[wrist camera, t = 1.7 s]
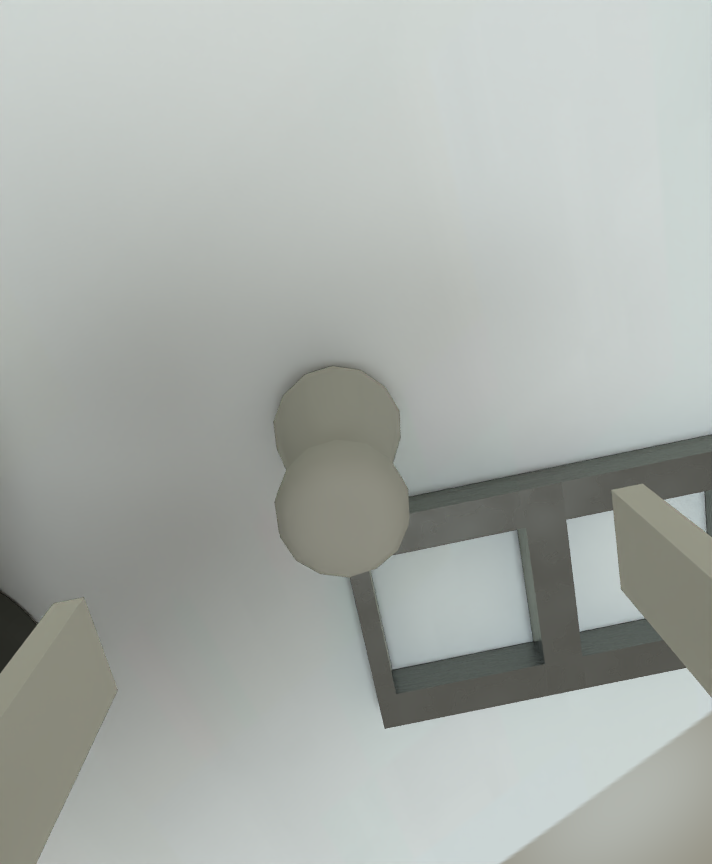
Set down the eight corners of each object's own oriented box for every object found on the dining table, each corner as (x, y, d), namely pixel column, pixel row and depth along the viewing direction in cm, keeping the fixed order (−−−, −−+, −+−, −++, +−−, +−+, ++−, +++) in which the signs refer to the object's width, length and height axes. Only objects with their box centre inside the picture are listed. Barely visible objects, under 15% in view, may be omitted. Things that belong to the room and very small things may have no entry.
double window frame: (381, 703, 37) (384, 728, 35) (337, 511, 34) (338, 528, 32) (729, 632, 37) (752, 654, 35) (721, 432, 33) (745, 444, 31)
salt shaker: (415, 436, 33) (472, 555, 20) (317, 491, 33) (313, 641, 21) (356, 335, 31) (378, 397, 19) (254, 395, 32) (209, 495, 19)
